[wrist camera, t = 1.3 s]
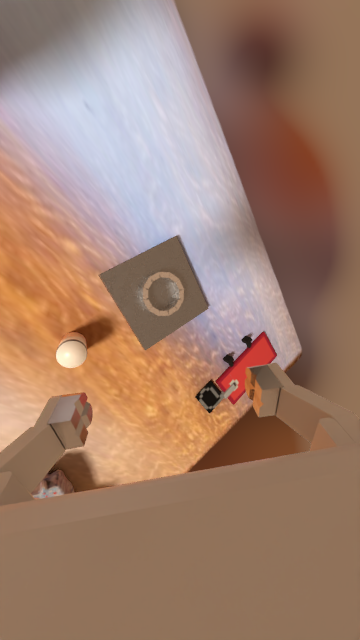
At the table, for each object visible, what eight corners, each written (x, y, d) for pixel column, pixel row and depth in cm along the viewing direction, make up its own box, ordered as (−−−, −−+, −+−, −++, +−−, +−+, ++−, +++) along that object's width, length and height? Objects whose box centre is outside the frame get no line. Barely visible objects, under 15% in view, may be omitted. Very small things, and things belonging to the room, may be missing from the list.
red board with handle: (190, 391, 60) (215, 420, 66) (195, 396, 58) (220, 425, 64) (256, 322, 67) (273, 354, 73) (263, 324, 65) (280, 356, 71)
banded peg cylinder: (54, 340, 44) (49, 351, 37) (77, 327, 45) (76, 335, 38) (69, 359, 45) (67, 373, 38) (91, 346, 47) (92, 357, 40)
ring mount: (98, 275, 45) (99, 274, 42) (173, 237, 51) (180, 233, 47) (143, 348, 52) (148, 353, 48) (205, 307, 58) (213, 309, 54)
